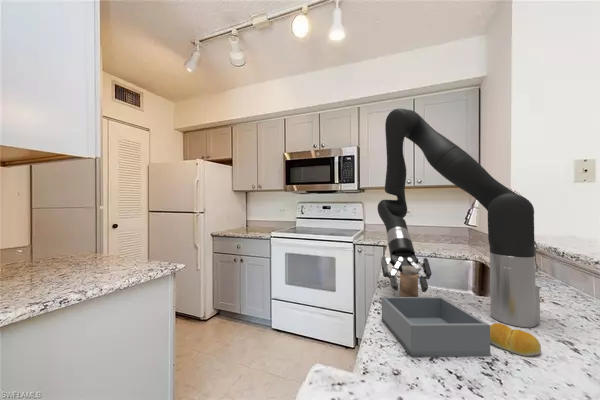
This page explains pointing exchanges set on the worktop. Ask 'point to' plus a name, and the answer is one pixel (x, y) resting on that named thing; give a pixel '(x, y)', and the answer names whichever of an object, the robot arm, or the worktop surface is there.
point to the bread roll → (514, 340)
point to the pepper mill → (408, 282)
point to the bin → (435, 327)
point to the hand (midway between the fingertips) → (410, 290)
